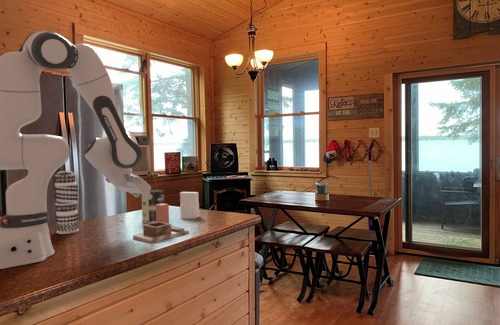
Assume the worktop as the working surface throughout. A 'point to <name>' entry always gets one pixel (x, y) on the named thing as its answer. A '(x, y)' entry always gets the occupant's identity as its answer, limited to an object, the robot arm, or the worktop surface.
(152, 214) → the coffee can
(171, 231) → the jig
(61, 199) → the decorative candle
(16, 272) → the worktop surface
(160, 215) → the red rectangular block
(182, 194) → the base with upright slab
